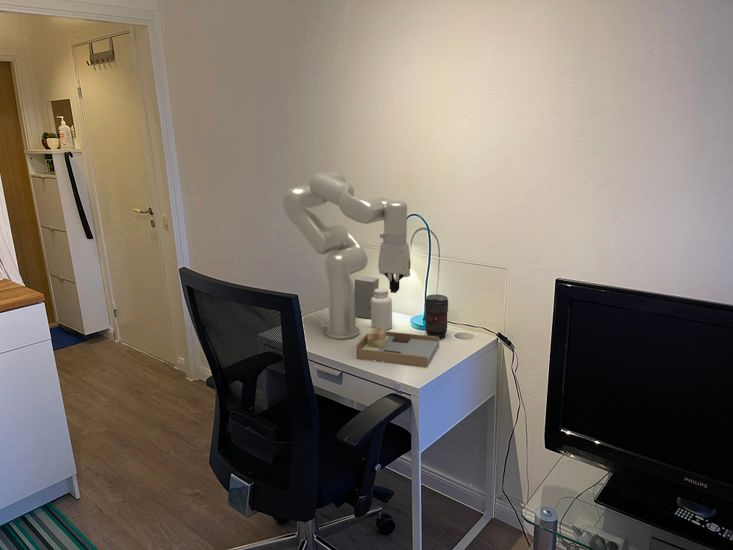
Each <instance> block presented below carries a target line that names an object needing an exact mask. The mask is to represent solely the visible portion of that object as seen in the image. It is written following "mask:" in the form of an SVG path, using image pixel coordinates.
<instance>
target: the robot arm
mask: <svg viewBox="0 0 733 550" xmlns="http://www.w3.org/2000/svg"><path fill="white" fill-rule="evenodd" d="M328 202H330V203H332V204H334V205H335V206H338V208H339V211H340V212H341V213H342V214H343V215H344V216H345V217H347V218H348V219H351V220H352V221H355V222H358V223H360V224H363V225H369V224H372V223H376V222H381V221H383V233H381V234H379V239H382V242H381V243H380V246H379V254H378V271H379V272H378V274H379V275H383V276H385V277H386V278H387V280H388V282H389V288H388V289H389V290H390V293H392V294H397V292H398V291H399V290H400V280H402V279H403V278H409V277H410V276H411V271H410V270H411V252H410V244H409V243H408V241H407V239H408V238H407V237H408V236H407V235H408V230H407V229H408V204H407V203H406V202H405V201H402V200H392V199H389V198H386V197H378V198H371V199H367V200H362V199H359V198H357V197H355V188H354V186H353V185H352V184H351V183H349V182H347V179H346V178H345V176H344V175H343V174H342V172H339V171H337V170H332V171H330V170H329V171H322V172H317V173H315V174H313V175H312V176H311V177H310V179H309V181H308V184H307V185H298V186H294V187H291V188H289V189H287V190H286V191H285V192H284V194H283V197H282V208H283V211H284V213H285V215H286V217H287V219H288V220H289V221H290V222H291V223H292V224H293V226H295V227H296V228H297V230H298V231H299V232H300V233H301V234H302V236H303V237H304V238H305V240H306V241H307V242H308V244H309V245H310V246H311V247H312V248H313V250H314V251H315V252H316V253H317V254H319V255H322V256H323V255H327V254H328V255H327V256H326V258H325V260H324V271H325V274H326V279H327V291H328V311H329V312H328V313H329V320H326V319H325V320H323V319H321V320H320V327H321V328H326V330H325V335H326V336H327V337H329V338H330V339H334V340H348V339H353V338H356V337H357V336H359V335H360V332H361V330H360V327H358V326H356V317H355V295H354V293H355V284H354V282H353V281H352V278H351V276H350V275H352V274H355V273H358V272H361V271H363V270H364V269H365V268H366V267H367V265H368V255H367V253H366V250H365V249H364V248H363V247H362V246H361V244H360V242H358V241H357V239H356V238H355V237H354V236H353V234H352V233H351V231H349V230H348V229H347V228H346V227H344V226H342V225H332V226H326V225H325V224H324V223H323V222H322V221H321V219H320V218H319V217H318V216H317V215H316V214H315V213H313V212H312V211H309V210H308V209H310V208H315V207H320V206H323V205H325V204H326V203H328Z"/></svg>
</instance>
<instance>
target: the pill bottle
mask: <svg viewBox="0 0 733 550" xmlns="http://www.w3.org/2000/svg"><path fill="white" fill-rule="evenodd" d="M392 303H393V301H392V297H391V296H390V295H389V288H388V289H387V288H383V287H378V289H375V290H374V297H372V298H371V319H370V320H371V321H370V322H371V328H373V327H374V326H375V328H376V329H386V331H388V330H391V329H392V328H393V304H392Z"/></svg>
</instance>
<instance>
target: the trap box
mask: <svg viewBox="0 0 733 550" xmlns="http://www.w3.org/2000/svg"><path fill="white" fill-rule="evenodd" d="M373 328H375V326H374V327H373ZM355 346H356V347H355V348H356V349H355V350H356V359H358V360H364V359H367V360H366V361H372V360H376V361H375V362H380V361H384V362H383V363H388V362H390V363H389V364H396V363H397V364H396V365H405V366H412V365H414V366H413V367H420V366H423V367H422V368H427V367H428V366H429V365H428V364H430V363H431V361H432V359H433V358H432V357H434V356H433V355H435V354H436V353H435V352H437V351H438V349H439V347H440V339H439V337H435V336H427V334H426V335H425V334H417V333H416V334H415V333H406V332H405V333H404V332H398V331H397V332H395V331H388V330H386V343H385V345H384V346H383V347H382V348H373V347H368V336H367V333H366V334H365V335H364V336H363V337H362V338H361V339H360V340H359V341H358V343H356V344H355ZM437 348H438V349H437ZM436 350H437V351H436ZM430 360H431V361H430ZM429 362H430V363H429Z"/></svg>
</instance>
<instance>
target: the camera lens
mask: <svg viewBox="0 0 733 550" xmlns="http://www.w3.org/2000/svg"><path fill="white" fill-rule="evenodd" d="M424 305H425V306H424V307H425V316H424V320H425V332H426V336H435V337H439V340H442V338H443V339H444V338H446V335H447V332H448V312H449V311H448V310H449V298H448V296H446V295H443V294H429V295H427V296H426V297H425V304H424Z"/></svg>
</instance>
